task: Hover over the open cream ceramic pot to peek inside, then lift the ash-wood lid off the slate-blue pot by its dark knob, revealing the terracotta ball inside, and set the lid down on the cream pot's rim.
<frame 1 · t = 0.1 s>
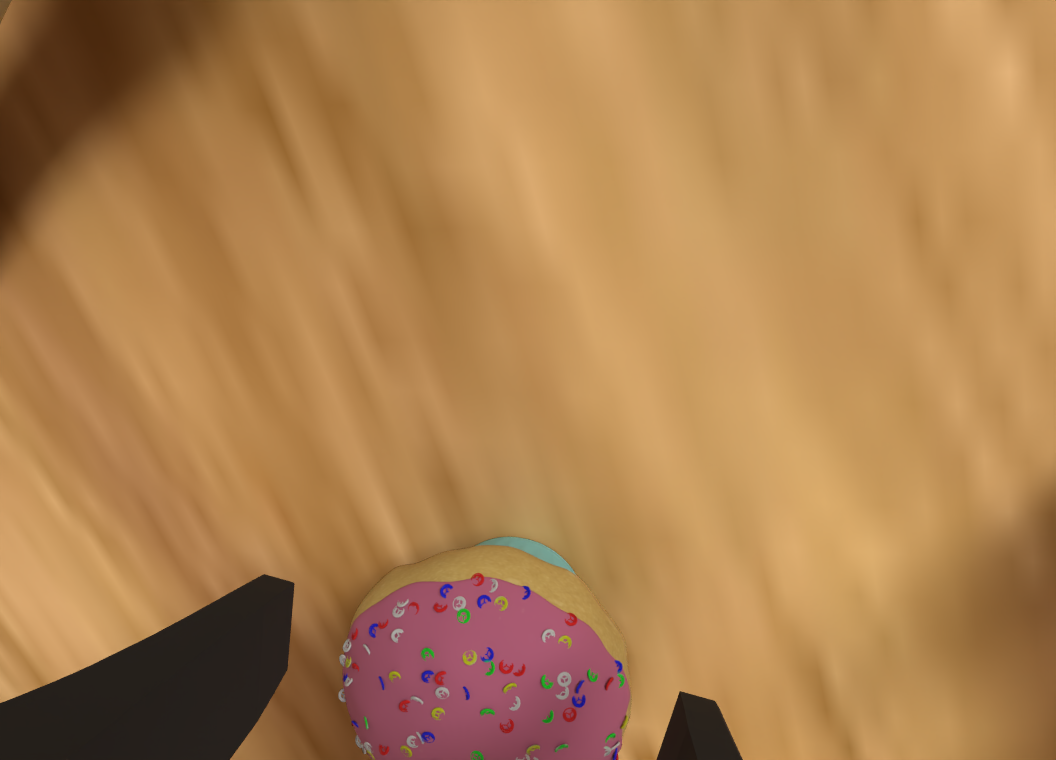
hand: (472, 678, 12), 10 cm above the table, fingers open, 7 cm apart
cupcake: (514, 588, 23), on the table
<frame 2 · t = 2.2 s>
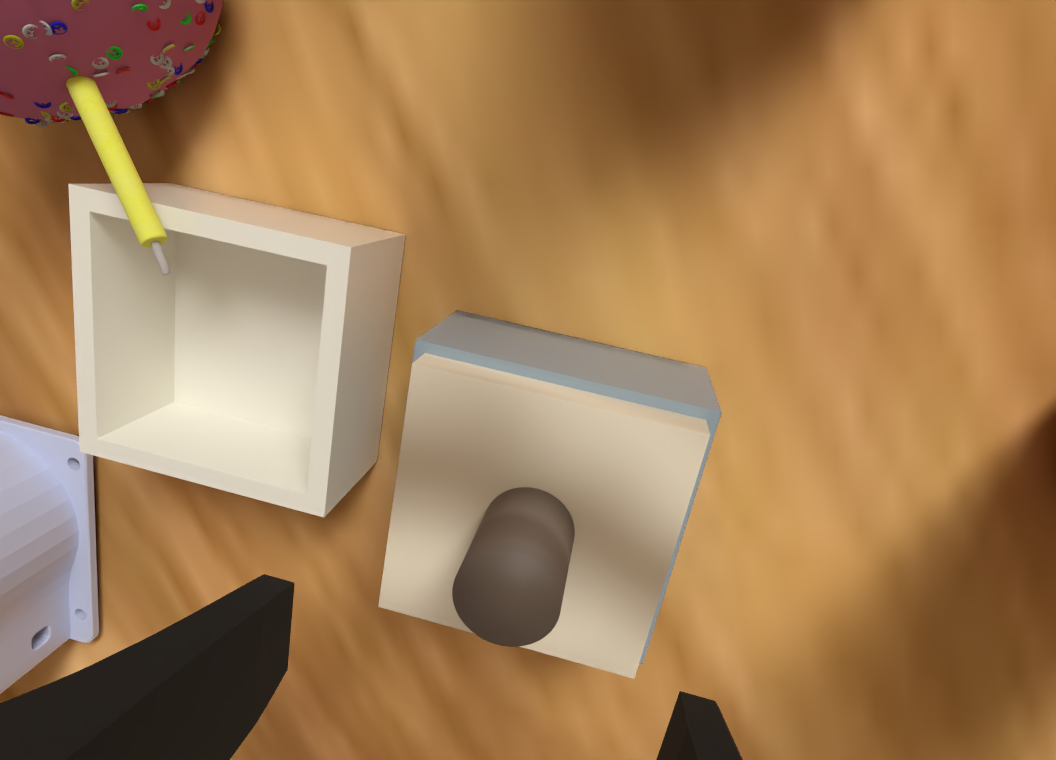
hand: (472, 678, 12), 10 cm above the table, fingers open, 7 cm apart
lid: (534, 510, 18), point 4 cm above the table, touching slate pot
slate pot: (553, 452, 21), on the table
cream pot: (278, 327, 22), on the table
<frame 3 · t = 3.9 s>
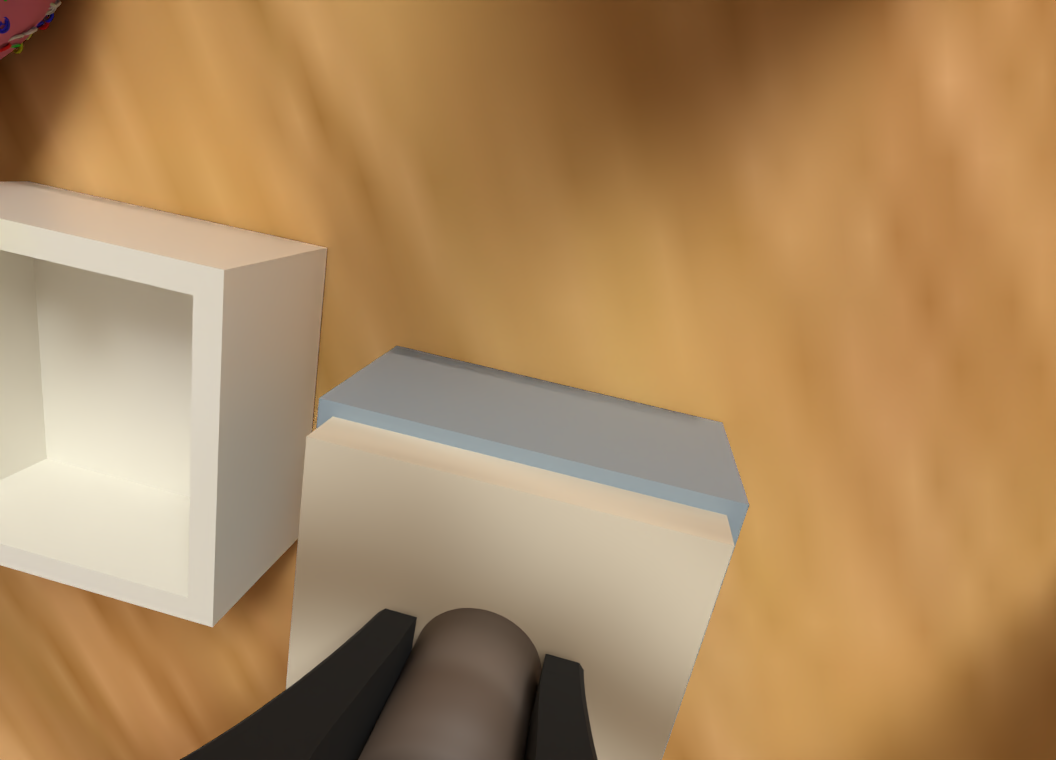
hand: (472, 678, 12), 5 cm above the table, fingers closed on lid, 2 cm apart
lid: (489, 627, 13), point 4 cm above the table, touching gripper, slate pot
slate pot: (524, 526, 17), on the table
cream pot: (173, 366, 17), on the table
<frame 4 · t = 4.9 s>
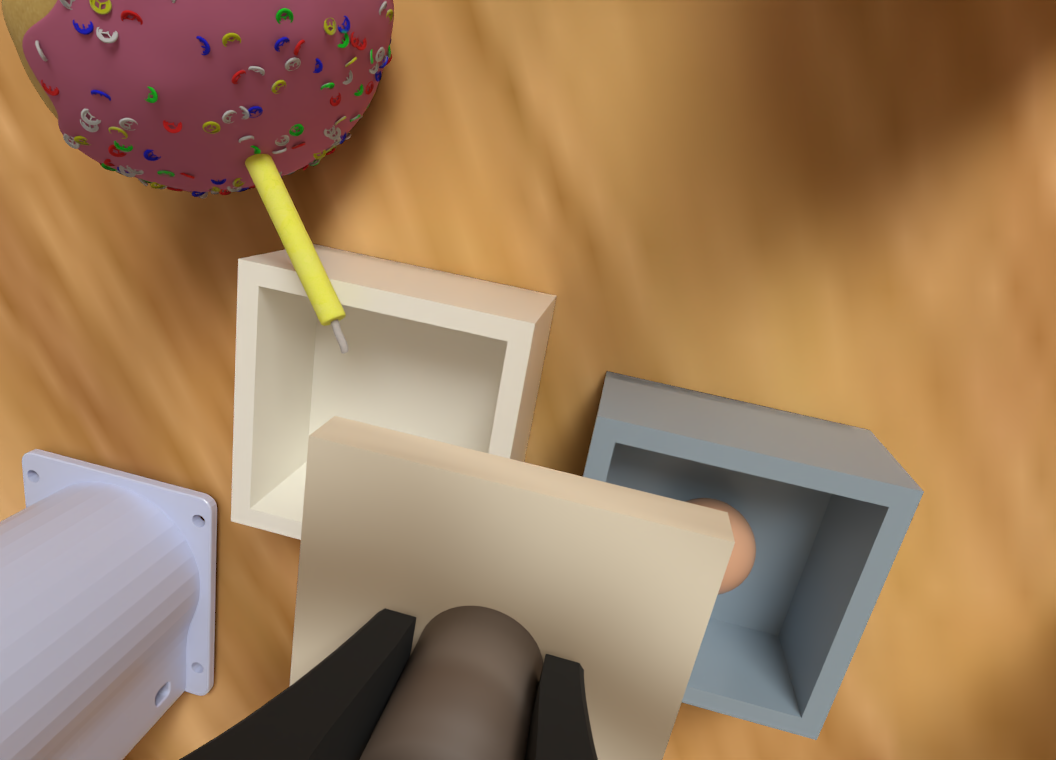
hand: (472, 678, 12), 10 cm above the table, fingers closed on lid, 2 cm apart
lid: (491, 625, 13), point 9 cm above the table, touching gripper
slate pot: (700, 512, 21), on the table
cream pot: (417, 387, 21), on the table
terracotta ball: (706, 545, 19), point 2 cm above the table, touching slate pot
when the fingers open (6 cm above the table, at t = 6.2 s): lid stays where it is, resting on cream pot, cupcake.
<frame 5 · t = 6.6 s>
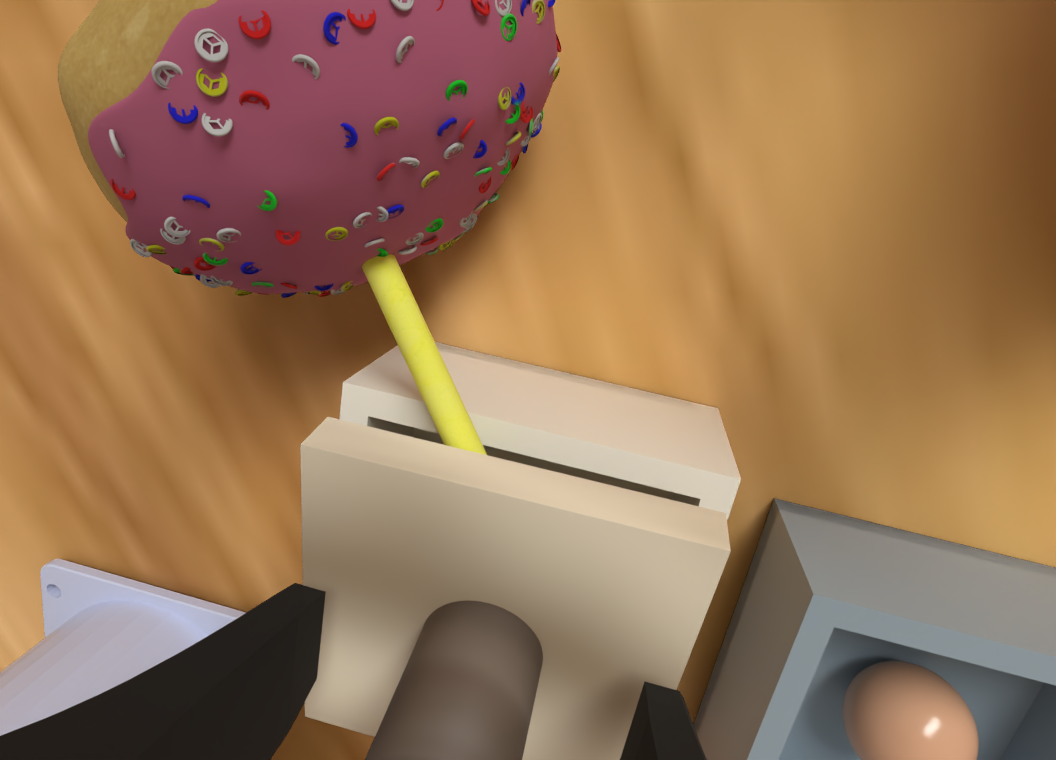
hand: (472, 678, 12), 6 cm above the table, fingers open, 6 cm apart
lid: (494, 609, 13), point 5 cm above the table, tilted 9°, touching cream pot, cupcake
slate pot: (878, 664, 17), on the table
cream pot: (531, 507, 18), on the table
terracotta ball: (907, 724, 15), point 2 cm above the table, touching slate pot
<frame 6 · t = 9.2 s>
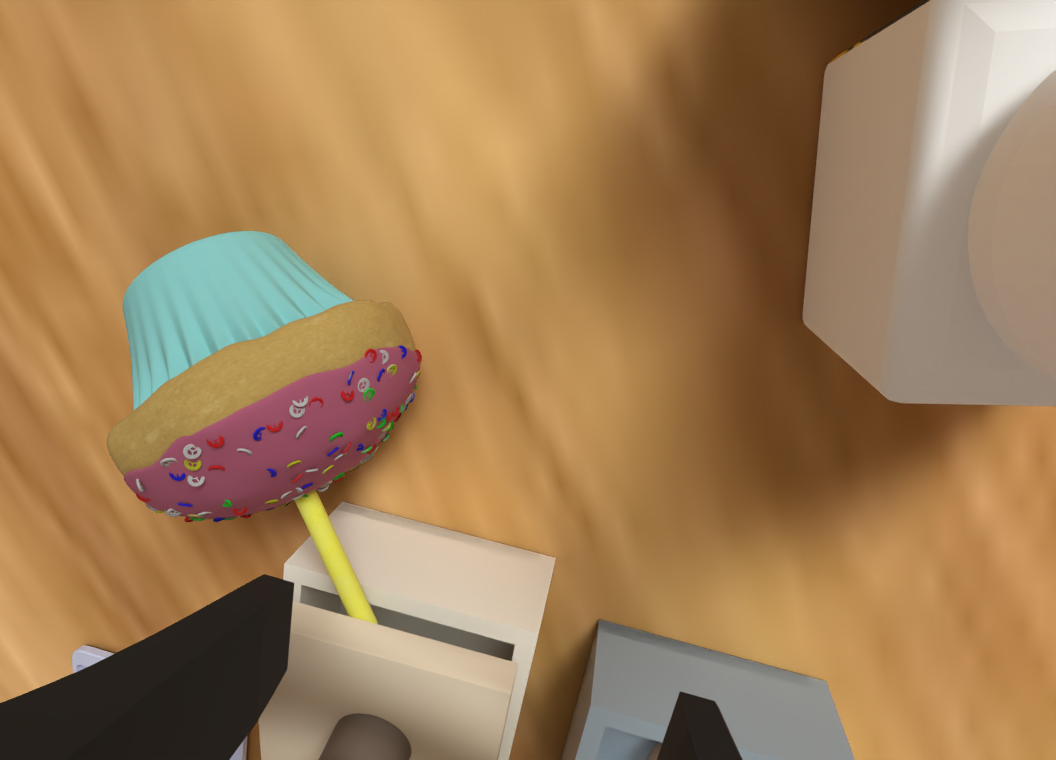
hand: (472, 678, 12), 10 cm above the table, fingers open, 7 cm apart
lid: (386, 711, 20), point 5 cm above the table, tilted 9°, touching cream pot, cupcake
slate pot: (680, 734, 24), on the table
cream pot: (431, 619, 24), on the table
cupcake: (201, 271, 19), point 3 cm above the table, touching lid
medicine bottle: (947, 196, 17), on the table
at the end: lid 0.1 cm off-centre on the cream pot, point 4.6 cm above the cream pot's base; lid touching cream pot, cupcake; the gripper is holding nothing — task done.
